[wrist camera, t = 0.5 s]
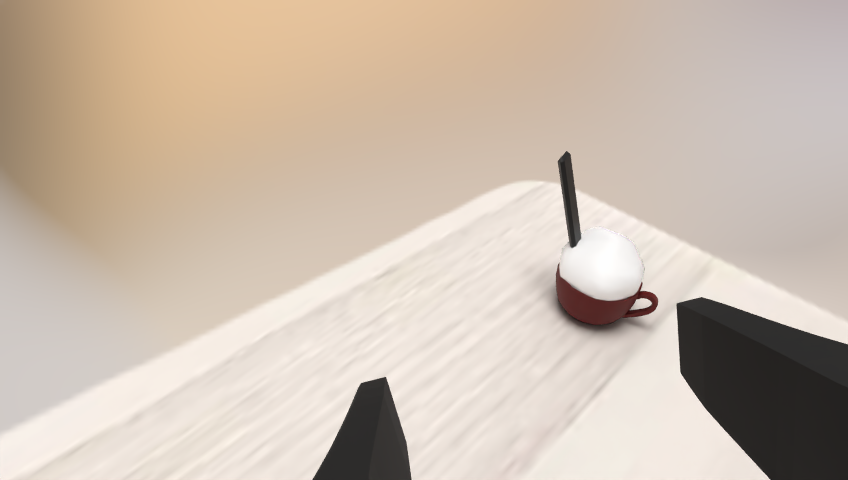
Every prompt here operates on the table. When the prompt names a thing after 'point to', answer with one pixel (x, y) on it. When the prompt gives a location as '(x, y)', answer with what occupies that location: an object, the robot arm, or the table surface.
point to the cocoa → (597, 267)
